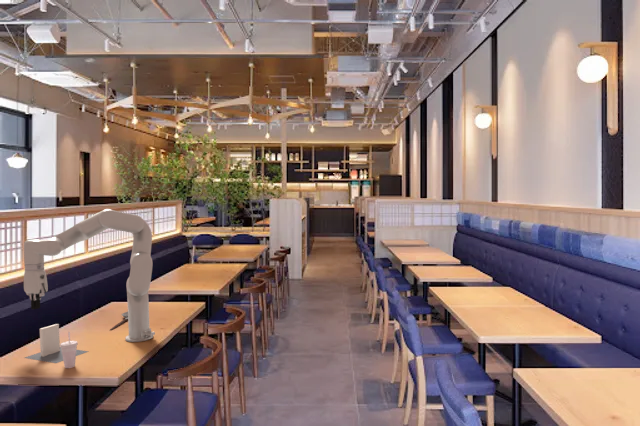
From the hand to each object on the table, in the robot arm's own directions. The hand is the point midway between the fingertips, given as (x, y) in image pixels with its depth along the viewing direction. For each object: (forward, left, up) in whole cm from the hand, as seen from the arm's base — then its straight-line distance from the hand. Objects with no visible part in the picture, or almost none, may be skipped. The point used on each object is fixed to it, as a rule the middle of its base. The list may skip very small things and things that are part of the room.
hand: (35, 308), depth 215 cm
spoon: (+4, -53, -20) cm, 57 cm away
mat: (-12, 0, -20) cm, 23 cm away
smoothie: (-30, +8, -20) cm, 37 cm away
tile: (-8, 0, -19) cm, 21 cm away
